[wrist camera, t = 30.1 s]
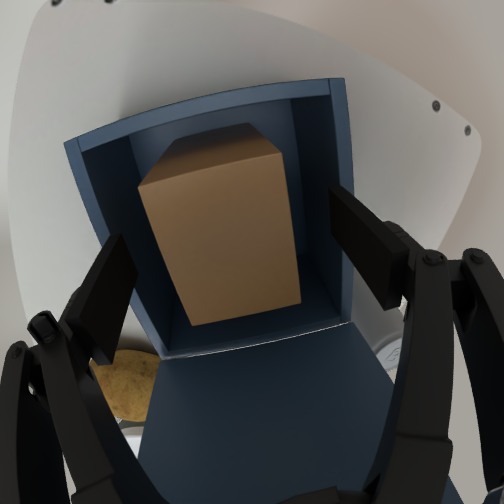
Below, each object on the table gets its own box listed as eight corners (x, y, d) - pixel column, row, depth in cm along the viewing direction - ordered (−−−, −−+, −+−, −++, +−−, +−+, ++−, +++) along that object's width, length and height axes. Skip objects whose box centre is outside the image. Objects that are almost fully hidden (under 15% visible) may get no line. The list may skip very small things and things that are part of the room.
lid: (118, 590, 4) (188, 600, 7) (477, 530, 4) (423, 556, 7) (159, 360, 20) (193, 424, 23) (353, 321, 21) (352, 392, 23)
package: (249, 122, 21) (282, 152, 11) (266, 212, 26) (301, 303, 15) (174, 139, 21) (136, 186, 11) (198, 227, 26) (191, 326, 15)
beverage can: (373, 261, 31) (429, 337, 21) (353, 294, 33) (397, 373, 23) (339, 251, 30) (393, 333, 20) (319, 287, 32) (359, 373, 22)
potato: (180, 442, 31) (191, 419, 26) (80, 417, 28) (67, 387, 23) (185, 382, 39) (197, 347, 34) (97, 360, 36) (91, 321, 31)
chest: (117, 120, 21) (62, 143, 12) (295, 81, 21) (345, 77, 12) (172, 284, 29) (161, 360, 21) (314, 253, 30) (351, 321, 21)
